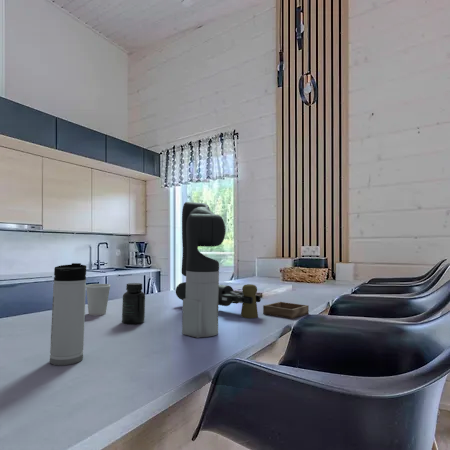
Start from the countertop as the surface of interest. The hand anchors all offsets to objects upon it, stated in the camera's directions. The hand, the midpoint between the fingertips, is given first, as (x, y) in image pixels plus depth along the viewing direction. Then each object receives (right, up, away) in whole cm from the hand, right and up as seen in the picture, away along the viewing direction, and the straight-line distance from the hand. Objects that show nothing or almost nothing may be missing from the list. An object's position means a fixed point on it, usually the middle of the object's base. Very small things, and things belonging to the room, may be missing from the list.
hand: (256, 299), depth 116 cm
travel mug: (-44, -3, -46) cm, 63 cm away
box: (+12, -7, +7) cm, 15 cm away
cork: (-2, -6, +1) cm, 7 cm away
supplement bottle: (-40, -5, -10) cm, 41 cm away
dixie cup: (-55, -6, +2) cm, 56 cm away
